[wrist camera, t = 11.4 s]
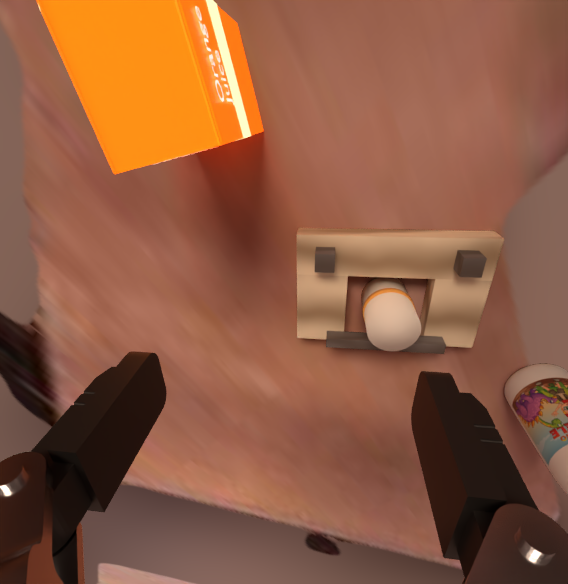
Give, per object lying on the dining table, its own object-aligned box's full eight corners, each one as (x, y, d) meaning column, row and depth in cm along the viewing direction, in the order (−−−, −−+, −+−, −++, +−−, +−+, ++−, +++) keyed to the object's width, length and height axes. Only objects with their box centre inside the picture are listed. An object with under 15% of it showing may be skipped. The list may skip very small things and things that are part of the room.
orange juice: (238, 21, 29) (97, -108, 12) (265, 131, 33) (189, 157, 16) (158, 50, 31) (-69, -26, 13) (192, 151, 35) (51, 195, 17)
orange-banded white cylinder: (361, 274, 39) (368, 305, 33) (410, 275, 38) (426, 307, 32) (358, 315, 41) (363, 350, 35) (404, 316, 41) (418, 353, 35)
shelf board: (298, 227, 37) (294, 241, 33) (494, 230, 35) (514, 246, 31) (298, 326, 43) (295, 348, 39) (464, 335, 41) (478, 359, 37)
